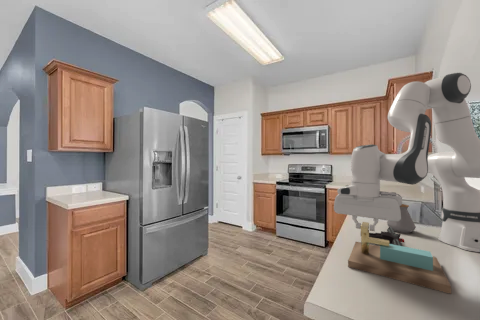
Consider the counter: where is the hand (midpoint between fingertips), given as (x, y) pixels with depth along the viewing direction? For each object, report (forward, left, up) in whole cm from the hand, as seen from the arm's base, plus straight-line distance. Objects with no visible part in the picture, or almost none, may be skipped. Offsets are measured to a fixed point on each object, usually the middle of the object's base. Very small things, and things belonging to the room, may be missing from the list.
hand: (365, 229), depth 74 cm
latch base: (-8, 0, -10) cm, 13 cm away
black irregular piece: (-4, -19, -11) cm, 22 cm away
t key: (-3, 0, -8) cm, 9 cm away
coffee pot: (-7, -46, -10) cm, 48 cm away
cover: (-11, 0, -8) cm, 14 cm away
